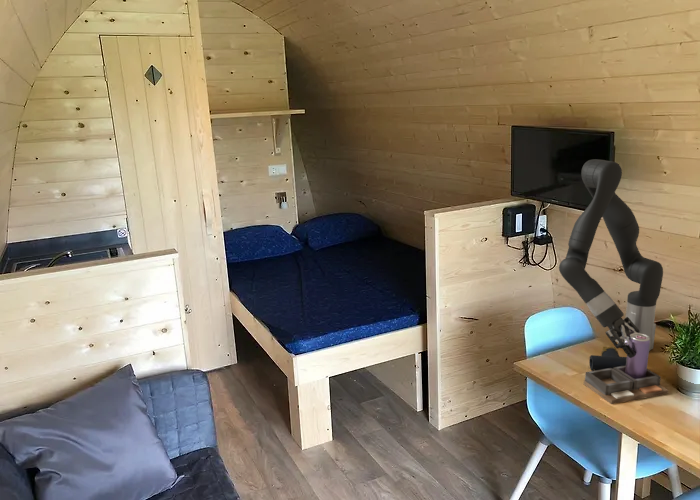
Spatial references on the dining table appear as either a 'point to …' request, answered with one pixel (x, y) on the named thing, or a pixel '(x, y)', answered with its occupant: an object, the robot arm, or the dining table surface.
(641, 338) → the beverage can
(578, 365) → the dining table surface
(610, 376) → the socket board
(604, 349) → the pipe connector
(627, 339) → the robot arm
